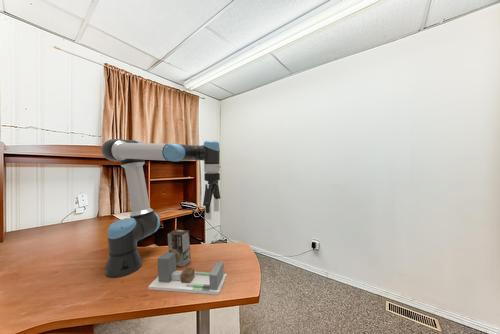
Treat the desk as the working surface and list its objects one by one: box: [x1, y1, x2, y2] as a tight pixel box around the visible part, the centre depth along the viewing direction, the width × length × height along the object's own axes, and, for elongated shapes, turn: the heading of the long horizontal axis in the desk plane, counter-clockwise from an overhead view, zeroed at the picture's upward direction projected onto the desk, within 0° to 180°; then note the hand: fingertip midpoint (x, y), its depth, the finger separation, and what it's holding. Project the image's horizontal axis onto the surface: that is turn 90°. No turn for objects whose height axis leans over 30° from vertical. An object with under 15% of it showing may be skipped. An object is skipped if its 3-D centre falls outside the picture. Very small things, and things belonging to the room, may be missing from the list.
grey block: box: [157, 251, 182, 282], centre depth 86 cm, size 9×6×10 cm, turn 82°
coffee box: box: [167, 228, 192, 268], centre depth 101 cm, size 9×6×16 cm
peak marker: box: [181, 267, 195, 283], centre depth 85 cm, size 4×4×4 cm
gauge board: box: [148, 261, 227, 296], centre depth 85 cm, size 30×12×7 cm, turn 82°
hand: (212, 215), depth 98 cm, fingers open, 13 cm apart
